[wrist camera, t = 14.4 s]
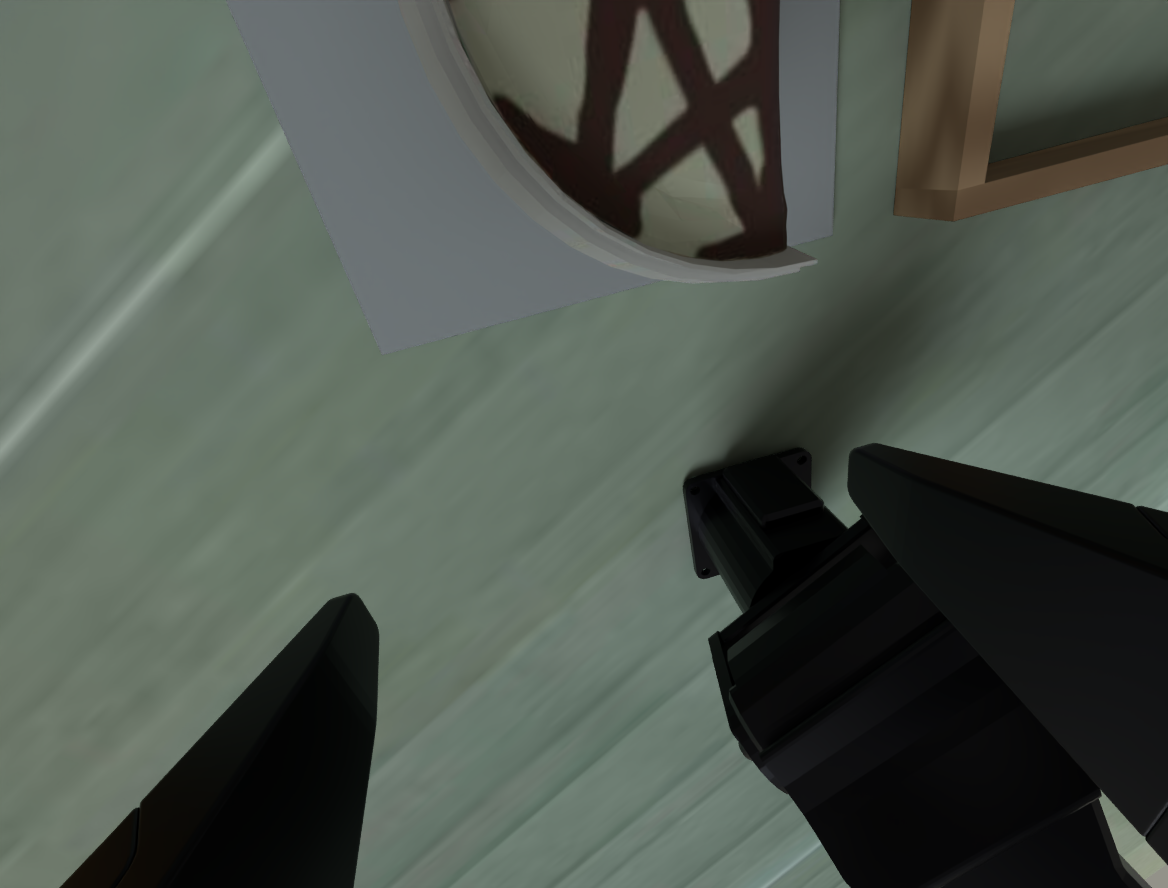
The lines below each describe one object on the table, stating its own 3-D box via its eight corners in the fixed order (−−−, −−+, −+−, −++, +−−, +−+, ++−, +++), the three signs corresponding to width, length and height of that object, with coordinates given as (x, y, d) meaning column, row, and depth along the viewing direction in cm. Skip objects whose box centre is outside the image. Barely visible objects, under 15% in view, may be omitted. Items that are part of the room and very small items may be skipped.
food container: (340, -215, 12) (0, -1132, 4) (579, -279, 13) (796, -1298, 4) (503, 284, 18) (520, 382, 10) (663, 236, 19) (818, 290, 10)
